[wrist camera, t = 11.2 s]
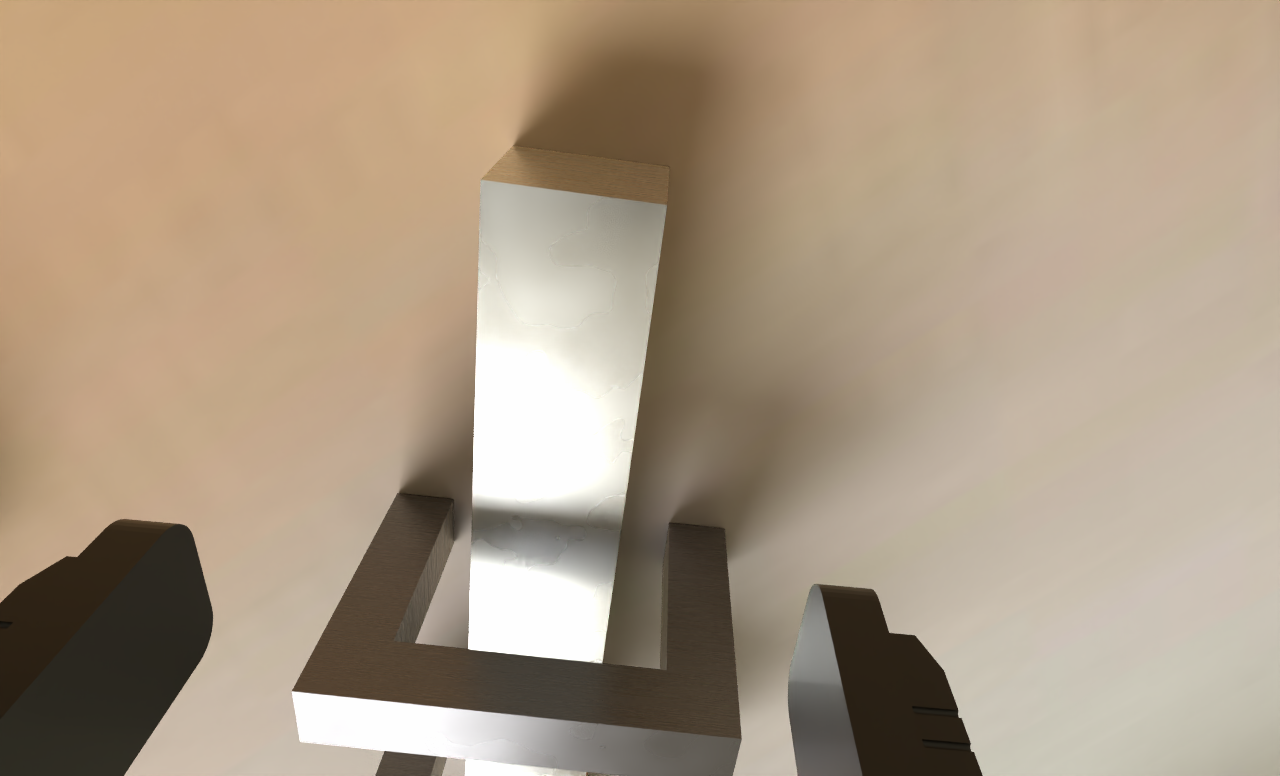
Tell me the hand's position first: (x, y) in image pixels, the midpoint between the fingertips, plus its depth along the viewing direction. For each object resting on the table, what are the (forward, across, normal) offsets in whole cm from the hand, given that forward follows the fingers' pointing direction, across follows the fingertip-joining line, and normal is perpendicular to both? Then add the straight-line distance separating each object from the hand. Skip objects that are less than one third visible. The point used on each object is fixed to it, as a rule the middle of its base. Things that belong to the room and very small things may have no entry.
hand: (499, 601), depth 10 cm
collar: (+12, 0, +9) cm, 15 cm away
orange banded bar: (+13, +1, +10) cm, 16 cm away
